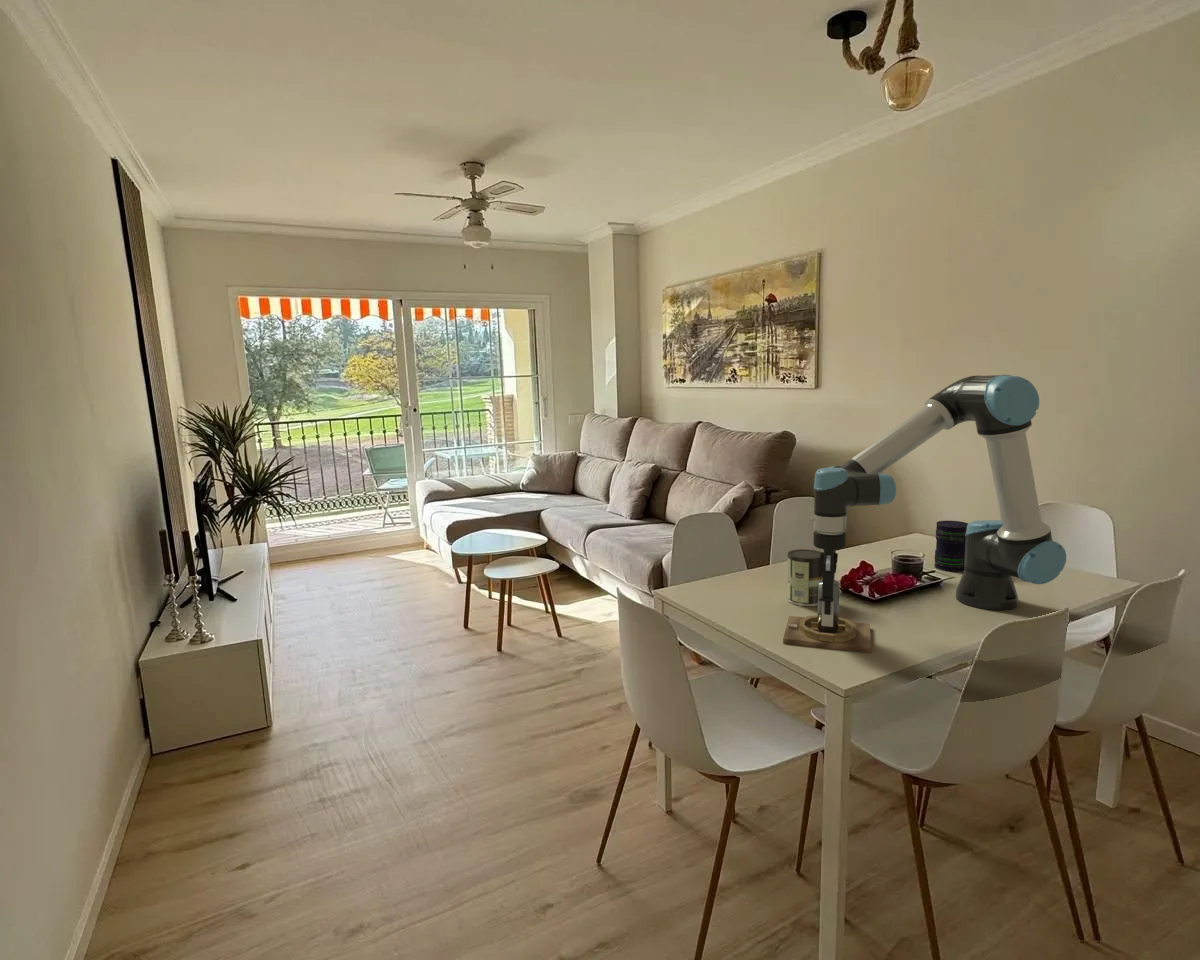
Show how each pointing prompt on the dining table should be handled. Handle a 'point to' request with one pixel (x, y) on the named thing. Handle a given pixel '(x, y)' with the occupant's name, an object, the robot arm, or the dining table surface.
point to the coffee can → (804, 577)
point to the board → (828, 635)
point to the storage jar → (950, 546)
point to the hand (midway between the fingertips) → (827, 621)
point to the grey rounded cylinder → (835, 612)
